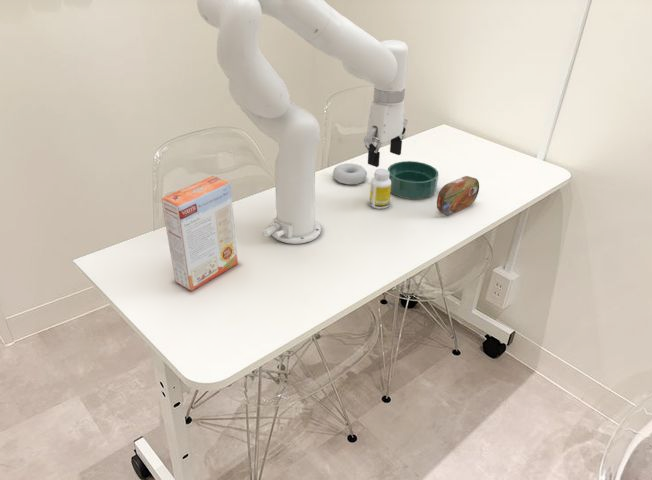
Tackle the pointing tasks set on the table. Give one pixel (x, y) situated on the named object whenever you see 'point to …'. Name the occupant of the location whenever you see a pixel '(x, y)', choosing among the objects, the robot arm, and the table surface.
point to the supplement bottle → (380, 189)
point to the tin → (457, 195)
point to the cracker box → (200, 231)
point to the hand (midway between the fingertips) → (384, 159)
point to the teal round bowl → (413, 179)
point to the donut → (349, 173)
